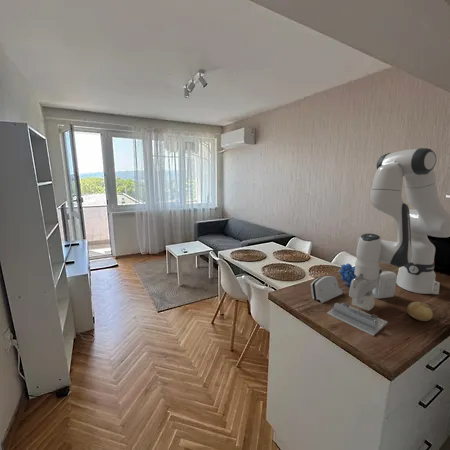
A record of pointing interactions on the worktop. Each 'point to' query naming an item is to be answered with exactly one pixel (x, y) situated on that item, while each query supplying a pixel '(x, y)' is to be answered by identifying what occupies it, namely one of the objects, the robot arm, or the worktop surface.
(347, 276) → the grapes
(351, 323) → the rail base
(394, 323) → the worktop surface
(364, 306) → the block
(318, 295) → the white toaster
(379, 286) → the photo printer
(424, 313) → the onion
